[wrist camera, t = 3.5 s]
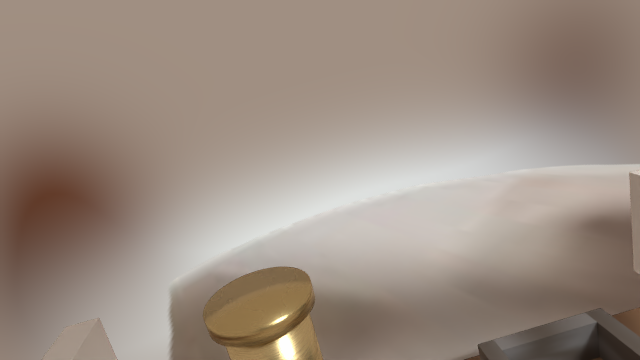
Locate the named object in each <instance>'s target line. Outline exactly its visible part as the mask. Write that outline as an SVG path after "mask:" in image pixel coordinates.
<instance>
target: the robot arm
mask: <svg viewBox="0 0 640 360" xmlns="http://www.w3.org/2000/svg"><path fill="white" fill-rule="evenodd" d="M629 176H630V199H631V222H632V244H633V267H634V271H635V272H637V273H638V274H640V170H636V171H632V172H629ZM42 360H117V358H116V356H115V353H114V351H113V349H112V346H111V344H110V342H109V340H108V337H107V335H106V333H105V330H104V328H103V326H102V323H101V321H100V319H99V318H97V319H93V320H89V321H86V322H82V323H78V324H75V325H71V326H67V327H66V328H65V329H64V330H63V331H62V333H61V334H60V336H59V337H58V338H57V340H56V341H55V342H54V343H53V345H52V346H51V348H50V349H49V350H48V351H47V353H46V354H45V355H44V357H43V358H42Z"/></svg>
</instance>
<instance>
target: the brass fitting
mask: <svg viewBox="0 0 640 360" xmlns="http://www.w3.org/2000/svg"><path fill="white" fill-rule="evenodd" d="M314 303H315V294H314V291H313V287H312V284H311V280H310V277H309V276H308V274H307V273H305V272H304V271H302V270H300V269H297V268H293V267H273V268H267V269H262V270H258V271H255V272H252V273H249V274H247V275H244V276H242V277H240V278H238V279H236V280H234V281H232V282H230V283H229V284H227V285H226V286H224V287H223V288H221V289H220V290H219V291H218V292H216V293H215V294H214V295H213V296H212V297H211V298H210V300H209V301H208V302H207V304H206V306H205V308H204V311H203V318H204V321H205V324H206V326H207V329H208V332H209V334H210V337H211V338H212V339H213V340H214V341H215V342H216V343H218V344H220V345H224V346H226V348H227V351H228V354H229V357H230V359H231V360H323V358H322V354H321V351H320V347H319V344H318V341H317V337H316V334H315V330H314V327H313V324H312V320H311V317H310V312H311V310H312V308H313V306H314Z"/></svg>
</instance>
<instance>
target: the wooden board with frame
mask: <svg viewBox="0 0 640 360" xmlns="http://www.w3.org/2000/svg"><path fill="white" fill-rule="evenodd" d="M478 349H479V354H480V355H478V356H475V357H472V358H468V359H465V360H640V307H639V308H636V309H633V310H629V311H626V312H623V313H619V314H616V315H612V316H611V315H610V314H608V313H607V312H605V311H604V310H603V309H601V308H599V309H596V310H592V311H589V312H585V313H582V314H579V315H575V316H572V317H569V318H565V319H562V320H558V321H555V322H552V323H548V324H545V325H542V326H538V327H535V328H532V329H528V330H525V331H521V332H518V333H515V334H511V335H508V336H505V337H501V338H498V339H494V340H491V341H488V342H484V343H481V344H478Z"/></svg>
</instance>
